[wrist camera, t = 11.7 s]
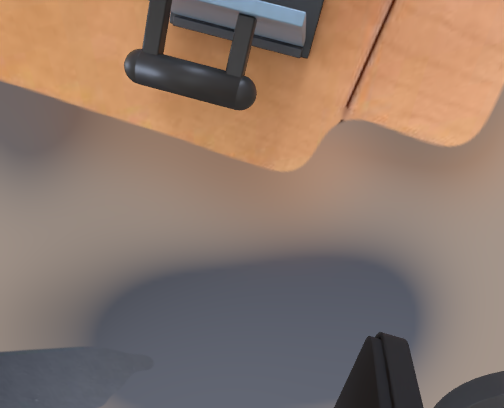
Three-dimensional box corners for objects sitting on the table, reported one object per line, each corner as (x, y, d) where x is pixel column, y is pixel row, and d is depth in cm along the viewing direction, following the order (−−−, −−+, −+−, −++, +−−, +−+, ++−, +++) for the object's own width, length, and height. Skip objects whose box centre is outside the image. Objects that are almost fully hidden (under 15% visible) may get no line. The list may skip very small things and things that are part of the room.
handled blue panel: (100, -41, 18) (87, 72, 19) (306, 12, 17) (276, 123, 19) (176, 4, 28) (164, 75, 29) (305, 37, 28) (286, 107, 29)
